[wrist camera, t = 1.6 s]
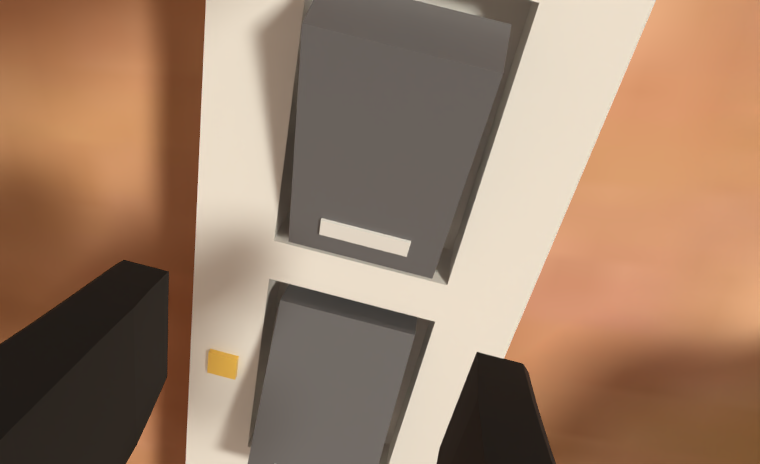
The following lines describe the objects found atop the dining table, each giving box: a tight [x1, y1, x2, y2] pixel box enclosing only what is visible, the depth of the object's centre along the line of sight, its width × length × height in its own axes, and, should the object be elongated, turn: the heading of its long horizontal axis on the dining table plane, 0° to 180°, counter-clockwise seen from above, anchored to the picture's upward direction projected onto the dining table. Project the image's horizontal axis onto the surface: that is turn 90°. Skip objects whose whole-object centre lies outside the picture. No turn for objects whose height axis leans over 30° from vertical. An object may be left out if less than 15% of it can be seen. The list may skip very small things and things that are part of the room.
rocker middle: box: [248, 284, 417, 464], centre depth 19 cm, size 3×6×2 cm, turn 169°
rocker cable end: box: [288, 0, 512, 279], centre depth 15 cm, size 3×6×2 cm, turn 169°
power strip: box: [186, 0, 656, 464], centre depth 19 cm, size 8×30×4 cm, turn 169°
